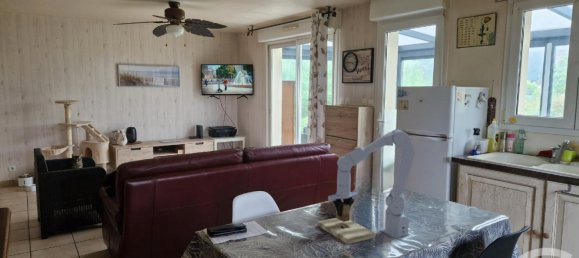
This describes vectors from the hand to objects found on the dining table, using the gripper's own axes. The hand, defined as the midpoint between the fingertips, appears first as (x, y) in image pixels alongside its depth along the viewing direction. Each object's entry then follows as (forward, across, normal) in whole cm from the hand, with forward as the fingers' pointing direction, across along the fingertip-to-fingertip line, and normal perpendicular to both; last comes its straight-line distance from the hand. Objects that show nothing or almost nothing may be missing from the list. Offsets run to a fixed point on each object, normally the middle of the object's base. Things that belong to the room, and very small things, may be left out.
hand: (342, 215), depth 161 cm
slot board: (+7, 0, +2) cm, 7 cm away
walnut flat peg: (+2, 0, 0) cm, 2 cm away
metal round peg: (+7, -10, -12) cm, 17 cm away
